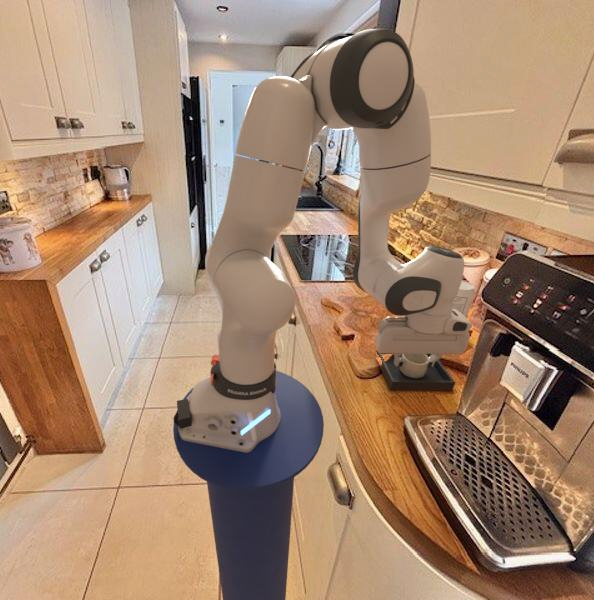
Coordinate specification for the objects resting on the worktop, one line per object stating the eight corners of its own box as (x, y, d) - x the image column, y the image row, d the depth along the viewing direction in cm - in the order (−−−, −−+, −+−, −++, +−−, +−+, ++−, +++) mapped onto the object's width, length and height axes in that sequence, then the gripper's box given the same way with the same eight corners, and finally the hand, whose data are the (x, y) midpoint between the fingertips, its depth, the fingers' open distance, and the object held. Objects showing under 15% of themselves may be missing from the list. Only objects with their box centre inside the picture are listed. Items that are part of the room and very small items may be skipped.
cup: (403, 379, 78) (407, 364, 76) (395, 363, 83) (398, 349, 81) (429, 379, 78) (433, 364, 76) (418, 363, 83) (422, 349, 81)
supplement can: (424, 323, 101) (437, 279, 94) (447, 320, 102) (461, 277, 95) (443, 338, 94) (457, 292, 87) (467, 334, 95) (484, 289, 88)
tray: (390, 390, 76) (392, 381, 75) (375, 357, 87) (376, 349, 85) (452, 391, 75) (455, 382, 74) (429, 357, 86) (431, 349, 85)
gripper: (384, 324, 71) (374, 373, 77) (480, 325, 70) (461, 374, 77) (375, 310, 76) (367, 356, 83) (464, 310, 76) (448, 357, 82)
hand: (413, 365), depth 80 cm, fingers closed on cup, 6 cm apart
